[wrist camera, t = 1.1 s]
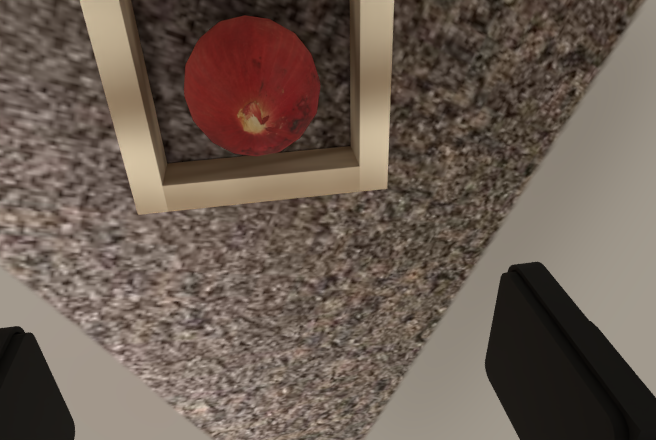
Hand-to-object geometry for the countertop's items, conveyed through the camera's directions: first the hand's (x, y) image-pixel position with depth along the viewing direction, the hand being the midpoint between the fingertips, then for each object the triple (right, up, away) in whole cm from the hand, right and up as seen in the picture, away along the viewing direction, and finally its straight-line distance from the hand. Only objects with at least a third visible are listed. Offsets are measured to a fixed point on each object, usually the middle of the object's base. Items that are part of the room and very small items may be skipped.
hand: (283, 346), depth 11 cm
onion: (-3, +10, +15) cm, 19 cm away
